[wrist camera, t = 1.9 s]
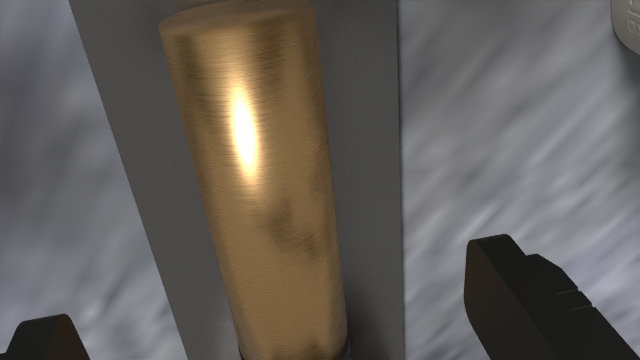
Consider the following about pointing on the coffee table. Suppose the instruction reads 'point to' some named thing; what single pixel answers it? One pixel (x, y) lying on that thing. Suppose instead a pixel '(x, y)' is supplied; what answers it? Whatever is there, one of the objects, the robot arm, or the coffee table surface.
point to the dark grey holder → (182, 187)
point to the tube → (264, 170)
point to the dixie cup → (627, 22)
